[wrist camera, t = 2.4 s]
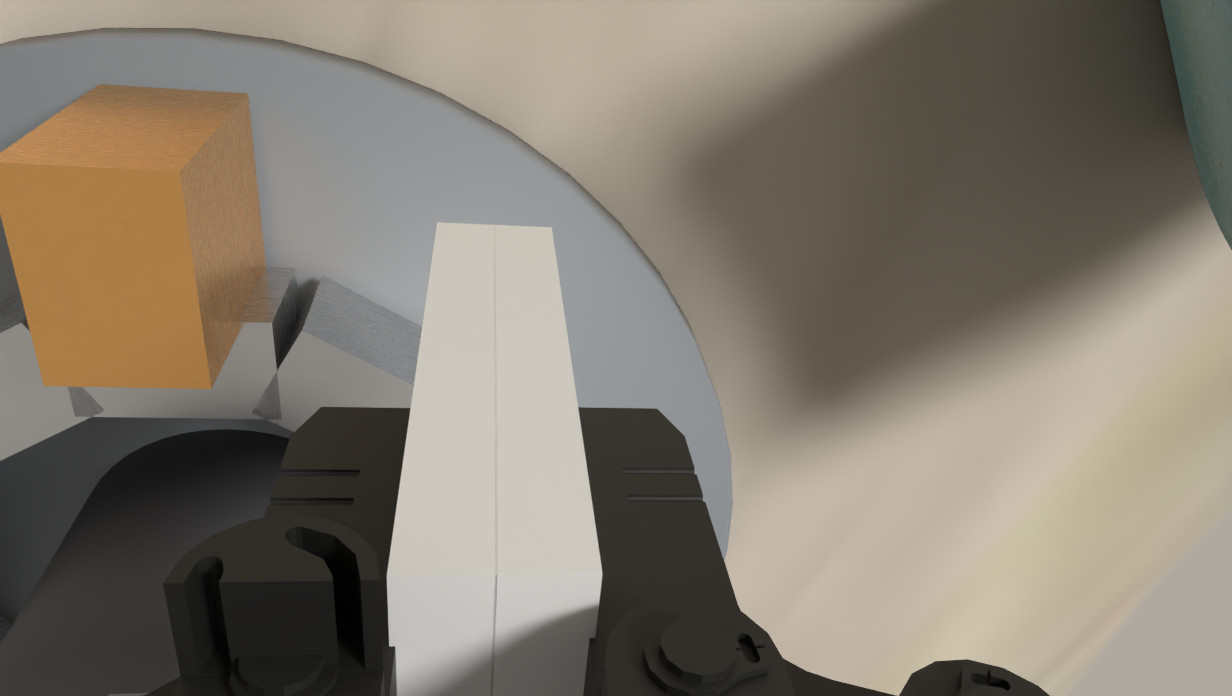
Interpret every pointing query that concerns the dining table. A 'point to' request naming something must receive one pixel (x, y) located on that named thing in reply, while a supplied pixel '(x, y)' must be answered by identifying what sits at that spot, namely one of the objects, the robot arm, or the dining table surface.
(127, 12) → the dining table surface
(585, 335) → the flange
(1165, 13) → the flower pot
